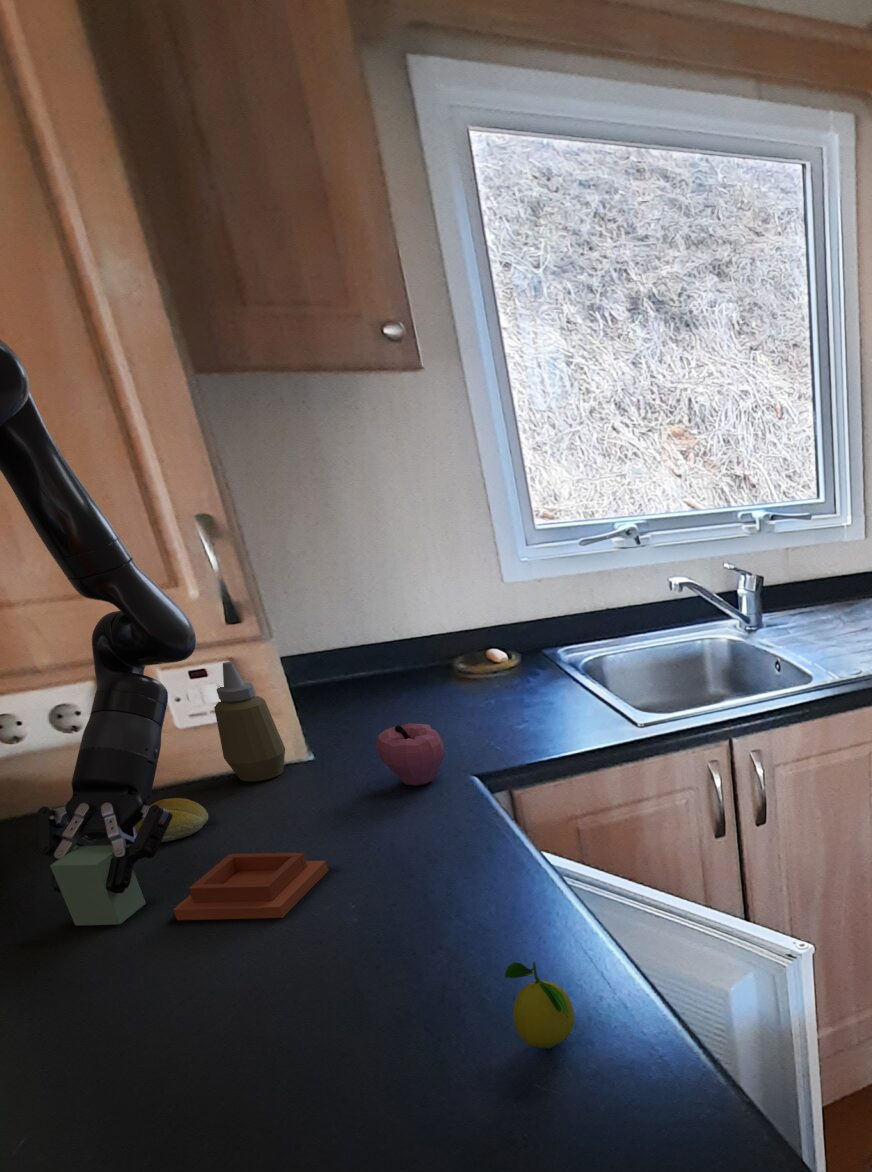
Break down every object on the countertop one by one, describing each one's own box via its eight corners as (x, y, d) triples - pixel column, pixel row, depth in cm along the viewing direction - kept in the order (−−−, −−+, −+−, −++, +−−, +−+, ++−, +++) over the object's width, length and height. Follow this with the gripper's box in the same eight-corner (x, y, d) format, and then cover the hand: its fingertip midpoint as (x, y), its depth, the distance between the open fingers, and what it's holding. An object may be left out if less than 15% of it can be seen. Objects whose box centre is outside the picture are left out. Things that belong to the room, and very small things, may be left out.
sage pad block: (120, 924, 123) (96, 864, 119) (75, 925, 123) (49, 865, 119) (146, 903, 127) (123, 844, 124) (102, 904, 127) (78, 845, 123)
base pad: (282, 917, 125) (274, 892, 123) (176, 920, 124) (167, 894, 122) (328, 870, 136) (321, 846, 134) (231, 872, 135) (223, 848, 133)
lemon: (516, 1032, 106) (499, 949, 101) (577, 1021, 108) (563, 939, 103) (515, 1073, 100) (497, 986, 96) (580, 1060, 102) (564, 975, 98)
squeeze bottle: (221, 777, 162) (184, 664, 154) (276, 761, 168) (243, 652, 160) (246, 789, 158) (209, 674, 150) (301, 773, 164) (269, 661, 156)
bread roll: (122, 847, 141) (112, 820, 139) (156, 819, 148) (147, 793, 147) (190, 843, 142) (181, 816, 140) (220, 815, 150) (211, 790, 148)
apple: (457, 785, 161) (443, 723, 156) (396, 799, 156) (380, 736, 151) (438, 766, 167) (424, 706, 163) (379, 779, 162) (363, 718, 158)
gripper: (31, 745, 123) (-4, 884, 117) (161, 743, 124) (132, 881, 118) (78, 769, 130) (47, 902, 124) (200, 768, 131) (174, 899, 126)
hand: (89, 891), depth 121 cm, fingers closed on sage pad block, 5 cm apart
